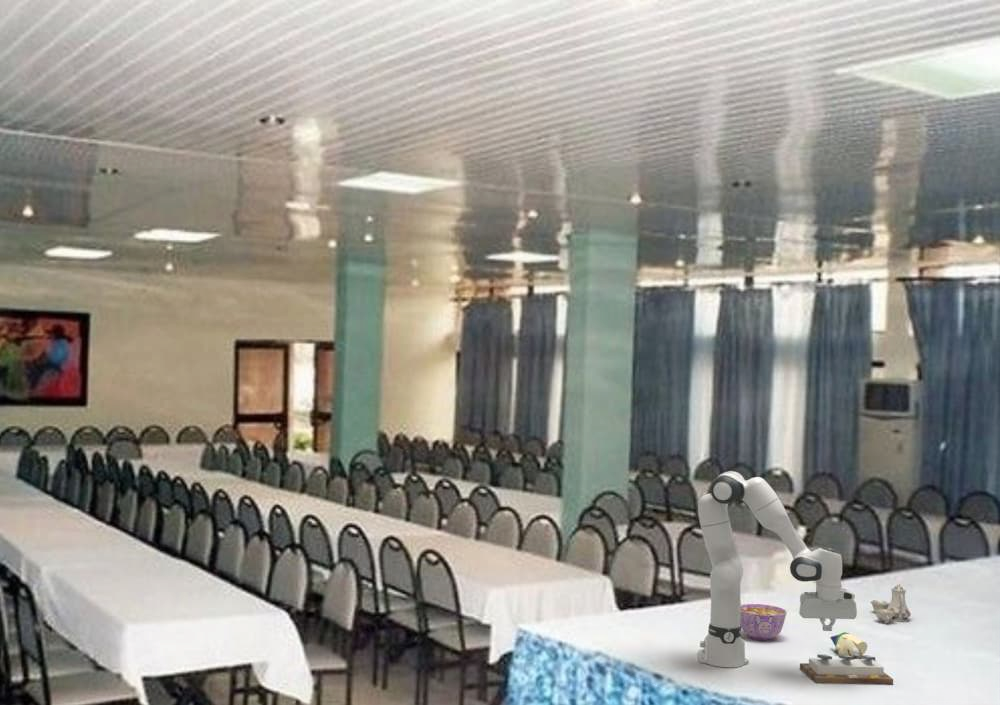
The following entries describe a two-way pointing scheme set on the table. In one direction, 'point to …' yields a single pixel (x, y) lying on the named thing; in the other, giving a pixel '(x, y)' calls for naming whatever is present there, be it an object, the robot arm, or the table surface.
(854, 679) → the chart board
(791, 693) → the table surface
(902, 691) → the table surface
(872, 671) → the switch housing
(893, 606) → the chinaware
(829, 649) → the table surface
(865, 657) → the block
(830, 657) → the block
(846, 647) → the cartoon head
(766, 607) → the bowl of food
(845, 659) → the rocker
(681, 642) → the table surface
